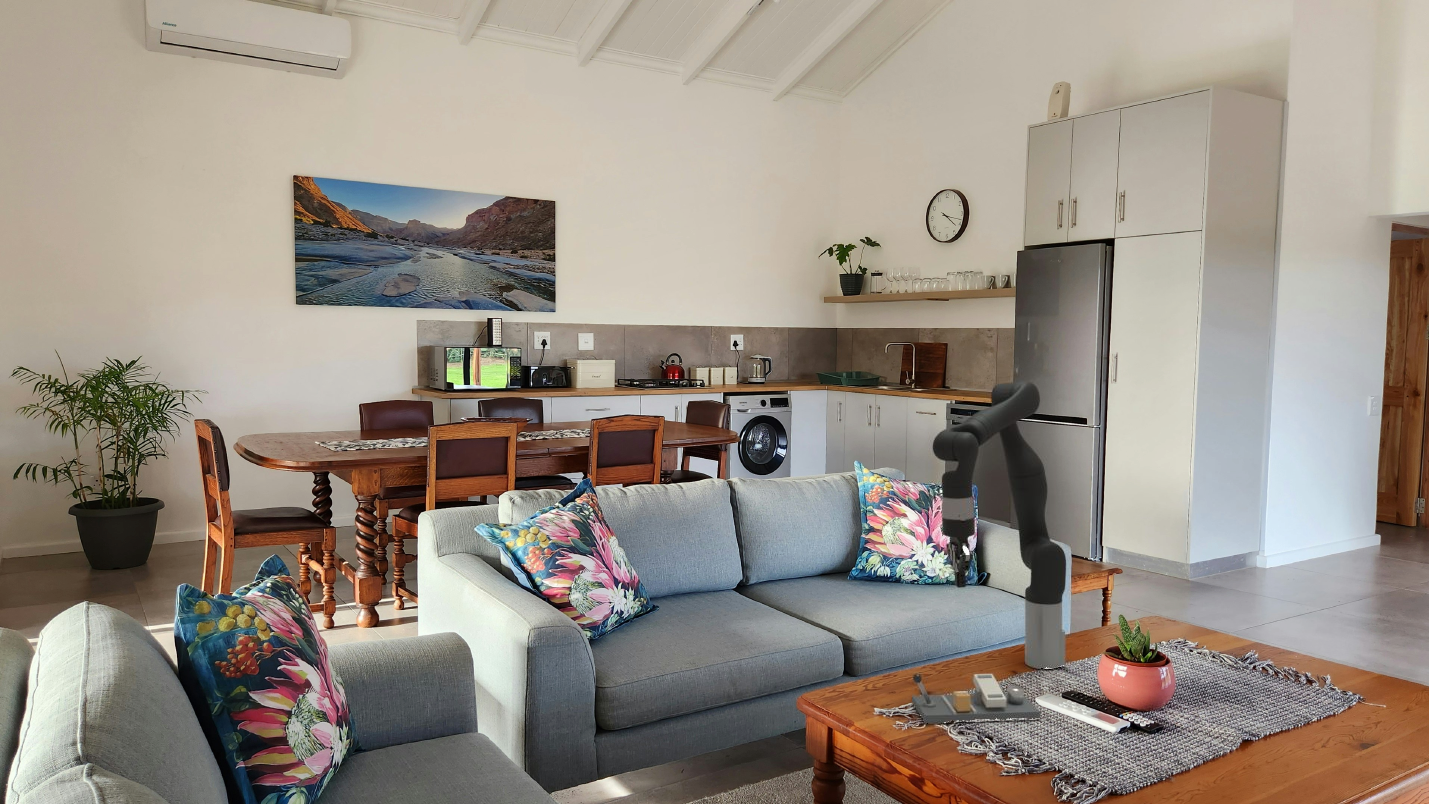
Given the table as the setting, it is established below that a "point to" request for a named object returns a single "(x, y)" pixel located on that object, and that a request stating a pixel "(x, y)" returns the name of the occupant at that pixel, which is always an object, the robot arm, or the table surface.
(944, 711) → the panel
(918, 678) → the toggle
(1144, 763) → the table surface
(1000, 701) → the block
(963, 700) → the slider
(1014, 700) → the button
